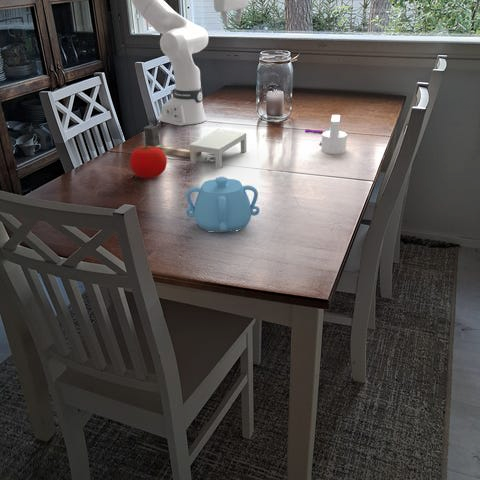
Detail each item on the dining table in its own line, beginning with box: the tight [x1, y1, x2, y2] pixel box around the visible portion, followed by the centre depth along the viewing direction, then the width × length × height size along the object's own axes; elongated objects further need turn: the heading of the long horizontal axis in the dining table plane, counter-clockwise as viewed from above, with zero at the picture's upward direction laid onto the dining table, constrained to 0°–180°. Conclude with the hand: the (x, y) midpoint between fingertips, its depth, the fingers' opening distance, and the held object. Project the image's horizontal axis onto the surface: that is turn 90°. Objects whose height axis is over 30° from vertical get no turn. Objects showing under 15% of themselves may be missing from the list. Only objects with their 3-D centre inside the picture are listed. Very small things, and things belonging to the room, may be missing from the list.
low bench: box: [189, 128, 247, 169], centre depth 187 cm, size 12×20×7 cm, turn 152°
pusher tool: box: [143, 124, 203, 159], centre depth 191 cm, size 22×6×9 cm, turn 62°
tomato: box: [129, 145, 168, 179], centre depth 171 cm, size 11×12×10 cm
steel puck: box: [206, 154, 216, 164], centre depth 185 cm, size 5×5×2 cm
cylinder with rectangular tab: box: [321, 114, 348, 155], centre depth 190 cm, size 9×9×12 cm
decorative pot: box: [185, 176, 261, 233], centre depth 138 cm, size 16×16×14 cm
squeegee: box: [304, 126, 331, 147], centre depth 210 cm, size 29×2×10 cm
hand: (232, 23), depth 194 cm, fingers open, 8 cm apart
